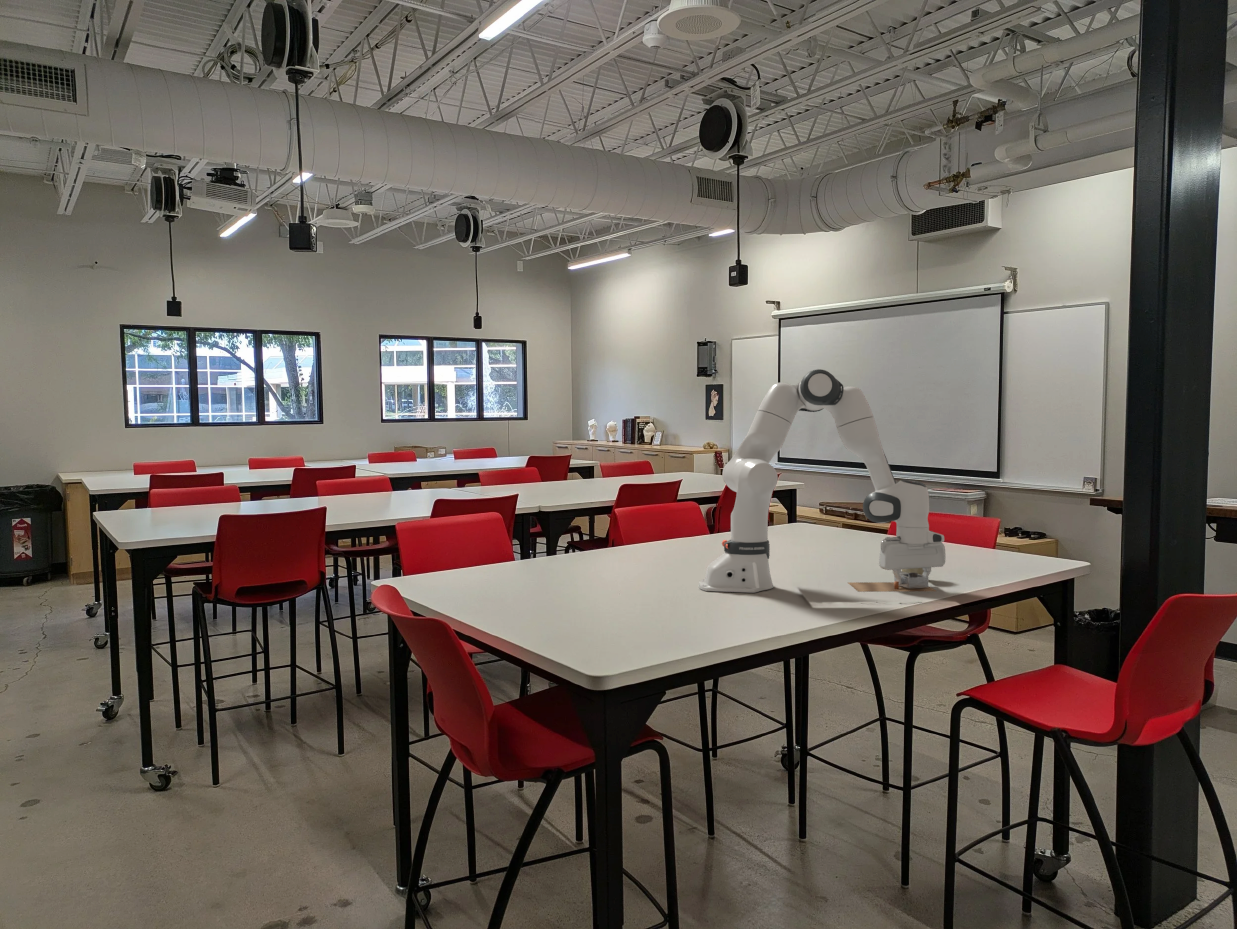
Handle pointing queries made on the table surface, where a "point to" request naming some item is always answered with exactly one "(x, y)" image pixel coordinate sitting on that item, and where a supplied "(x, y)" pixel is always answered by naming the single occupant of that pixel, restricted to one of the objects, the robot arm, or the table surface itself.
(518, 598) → the table surface
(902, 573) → the grey square frame
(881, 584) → the board
